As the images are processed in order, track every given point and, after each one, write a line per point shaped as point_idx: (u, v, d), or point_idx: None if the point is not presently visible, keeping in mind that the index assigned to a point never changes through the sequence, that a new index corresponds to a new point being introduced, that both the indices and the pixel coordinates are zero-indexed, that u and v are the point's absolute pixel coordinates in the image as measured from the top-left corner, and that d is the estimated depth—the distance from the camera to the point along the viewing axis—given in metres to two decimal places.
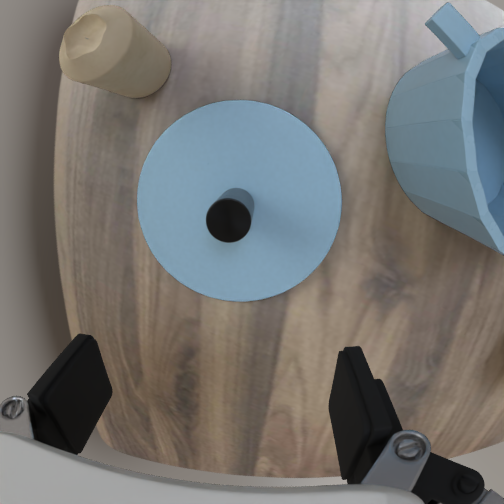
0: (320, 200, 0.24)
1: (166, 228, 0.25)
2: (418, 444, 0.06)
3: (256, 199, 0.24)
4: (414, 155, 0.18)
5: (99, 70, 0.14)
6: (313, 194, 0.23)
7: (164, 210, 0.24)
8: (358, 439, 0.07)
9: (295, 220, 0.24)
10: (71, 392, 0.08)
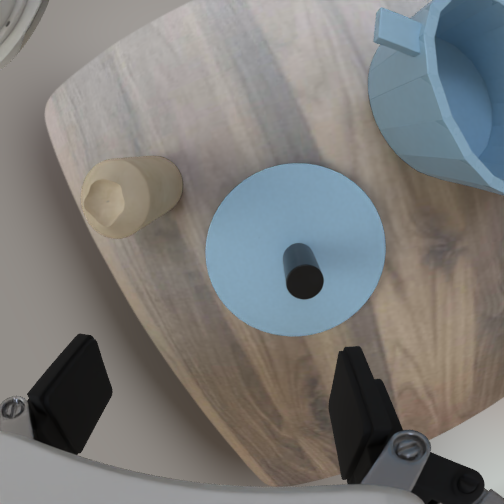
0: (360, 219, 0.26)
1: (251, 302, 0.29)
2: (418, 444, 0.06)
3: (311, 245, 0.27)
4: (416, 149, 0.20)
5: (138, 223, 0.19)
6: (352, 217, 0.26)
7: (243, 289, 0.29)
8: (358, 439, 0.07)
9: (349, 244, 0.27)
10: (71, 392, 0.08)
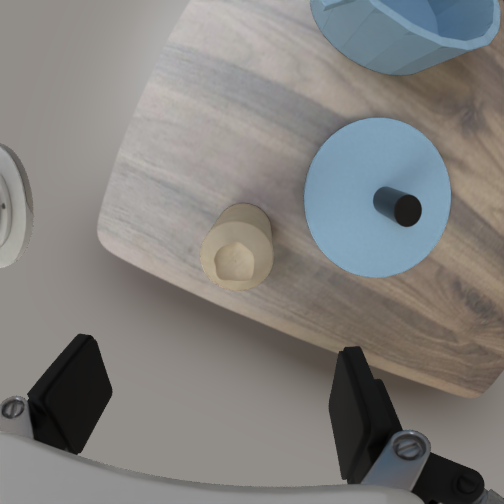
0: (403, 139, 0.27)
1: (377, 258, 0.31)
2: (418, 444, 0.06)
3: (387, 184, 0.28)
4: (401, 61, 0.21)
5: (269, 259, 0.23)
6: (398, 142, 0.27)
7: (365, 253, 0.30)
8: (358, 439, 0.07)
9: (410, 163, 0.27)
10: (71, 392, 0.08)
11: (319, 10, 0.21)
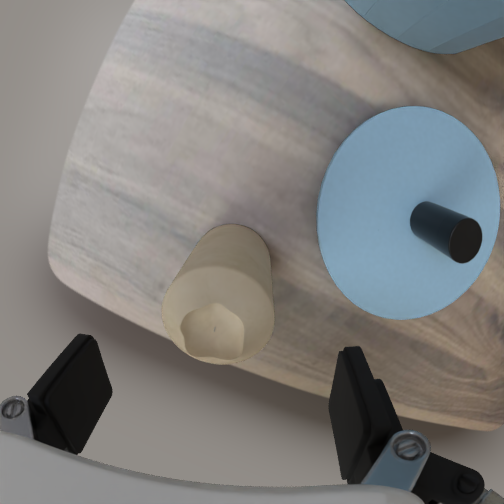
0: (449, 137, 0.18)
1: (410, 295, 0.22)
2: (418, 444, 0.06)
3: (428, 198, 0.20)
4: (452, 31, 0.12)
5: (268, 324, 0.14)
6: (442, 141, 0.18)
7: (395, 291, 0.22)
8: (358, 439, 0.07)
9: (457, 170, 0.19)
10: (71, 392, 0.08)
11: None
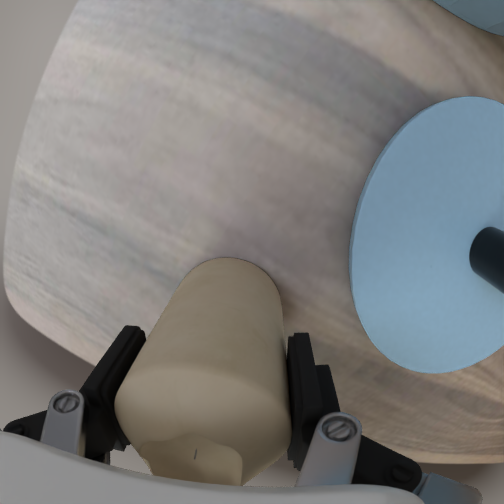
0: None
1: (457, 345, 0.15)
2: (347, 424, 0.07)
3: (492, 222, 0.13)
4: None
5: (282, 444, 0.08)
6: None
7: (442, 341, 0.15)
8: (293, 418, 0.08)
9: None
10: None
11: None
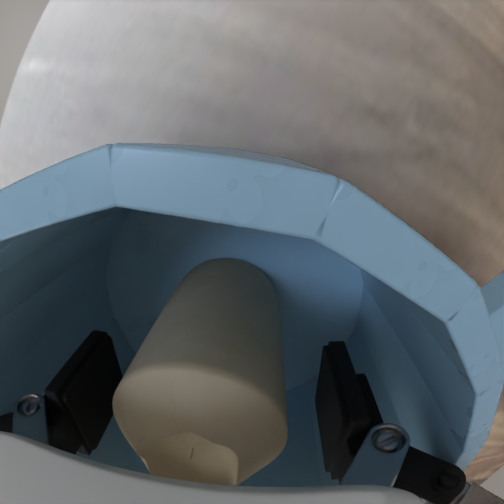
0: None
1: None
2: (397, 436, 0.06)
3: None
4: None
5: (278, 444, 0.08)
6: None
7: None
8: (338, 431, 0.07)
9: None
10: (87, 388, 0.09)
11: None
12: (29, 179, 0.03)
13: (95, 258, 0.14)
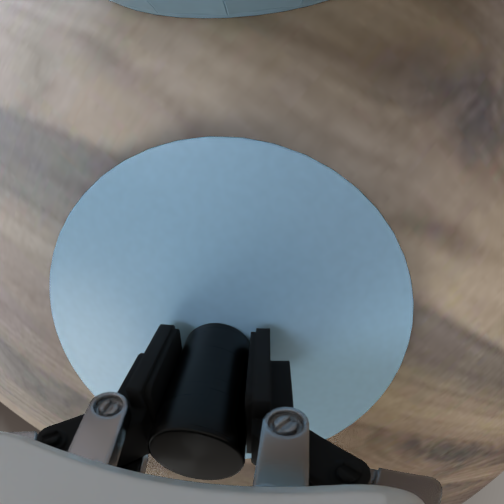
0: (262, 194, 0.10)
1: None
2: (293, 418, 0.07)
3: (218, 316, 0.12)
4: None
5: None
6: (244, 205, 0.10)
7: None
8: None
9: (287, 261, 0.11)
10: (164, 382, 0.09)
11: None
12: None
13: None
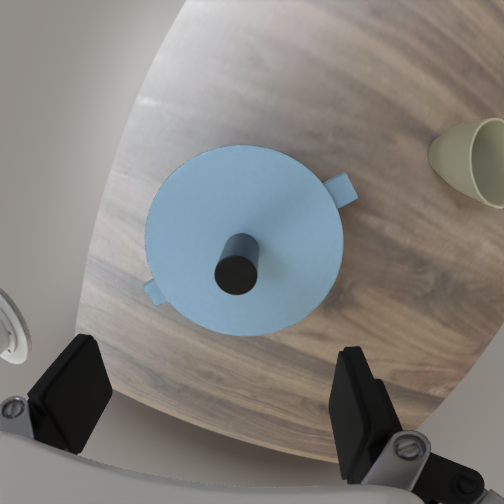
0: (264, 170, 0.23)
1: (240, 315, 0.27)
2: (418, 444, 0.06)
3: (242, 230, 0.25)
4: None
5: None
6: (255, 175, 0.23)
7: (223, 310, 0.27)
8: (358, 439, 0.07)
9: (275, 201, 0.24)
10: (71, 392, 0.08)
11: None
12: None
13: None
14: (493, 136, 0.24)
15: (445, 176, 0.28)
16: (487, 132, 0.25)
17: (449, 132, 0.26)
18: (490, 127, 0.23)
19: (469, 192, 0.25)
